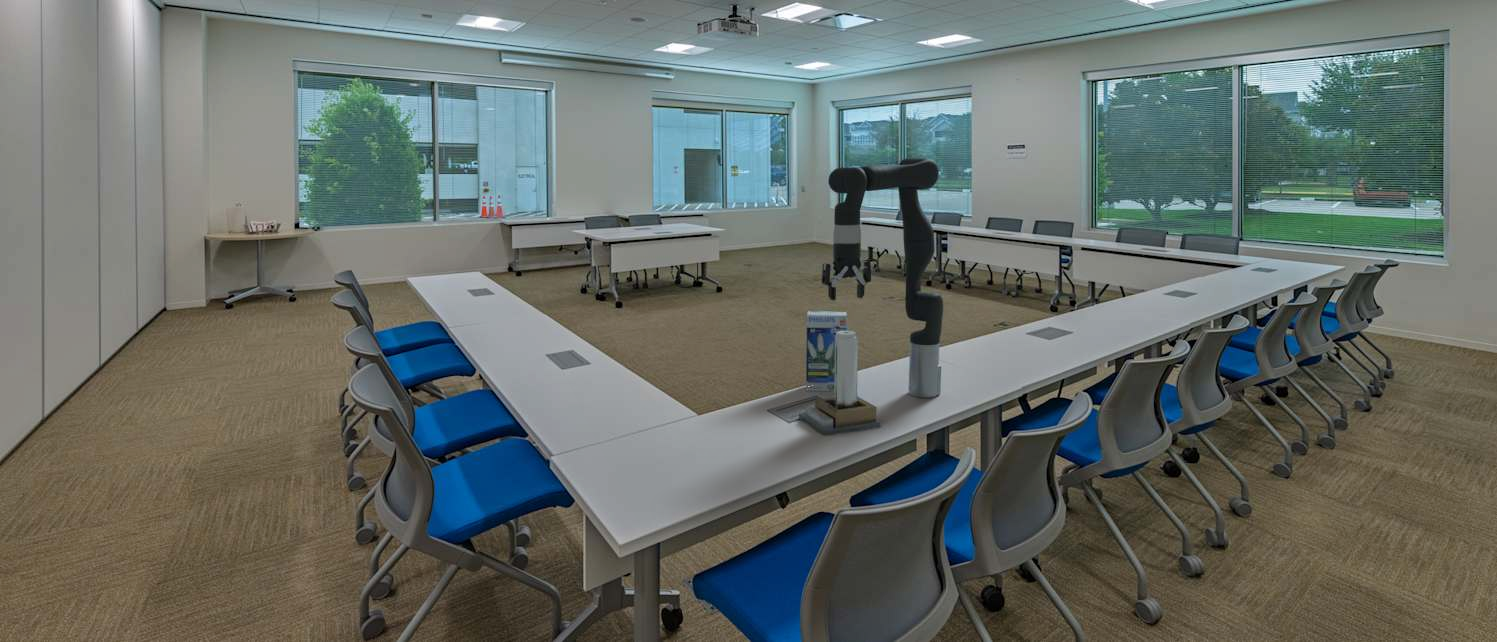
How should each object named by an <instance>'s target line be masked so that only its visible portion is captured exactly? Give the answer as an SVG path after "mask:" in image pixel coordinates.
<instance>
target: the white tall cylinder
mask: <svg viewBox="0 0 1497 642" xmlns="http://www.w3.org/2000/svg"><path fill="white" fill-rule="evenodd" d="M858 342H859V335H857V332H855V331H852V330H847V331H838V332H836V335H835V380H834V392H833V393H834V396H833V397H834V407H835V408H837V409H838V410H841V409H848V408H855V407H857V396H858V354H859V353H858V352H859V348H858V347H859V343H858Z"/></svg>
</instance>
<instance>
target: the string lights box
mask: <svg viewBox="0 0 1497 642" xmlns="http://www.w3.org/2000/svg"><path fill="white" fill-rule="evenodd" d="M806 312H807V313H806V349H805V350H806V352H805V353H806V361H805V362H806V363H805V364H806V365H805V366H806V369H805V371H806V374H805V375H806V376H805V377H806V378H805V381H806V384H805V385H806V387H807V388H805V389H808V390H806V392H829V391H830V392H832V393H834V380H835V335H836V332H838V331H848V314H847V312H846V311H827V310H826V311H824V310H823V311H809V310H808V311H806ZM812 385H813V386H812ZM808 386H810V387H808ZM830 392H829V393H830Z"/></svg>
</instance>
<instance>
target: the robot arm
mask: <svg viewBox="0 0 1497 642" xmlns="http://www.w3.org/2000/svg"><path fill="white" fill-rule="evenodd" d="M939 174H940V173H939V167H938V164H937V163H936V161H934V160H933V159H930V158H927V157H926V158H925V157H914V158H913V157H909V158H903V159H901V161H899V163H898V164H877V165H876V164H874V165H873V164H872V165H866V166H860V167H858V166H857V167H856V166H849V167H847V166H846V167H838V168H835V169H833V171H831V173H830V174H829V176H828V179H827V181H828V186H829V188H830V189H831V190H832V191H833V192H835V193H837V194H843V195H844V194H846V195H845V198H844V200H843V202H839V203H836V205H835V207H834V222H833V224H834V225H833V226H834V227H833V235H832V236H833V237H832V238H833V240H832V241H833V242H832V247H833V249H832V250H833V251H832V252H833V253H832V254H833V255H832V257H833V262H832V263H827V262H824V263H823V264H822V271H821V273H822V274H821V284H822V285H825V286H827V287H828V291H827V292H828V298H829V299H830V301H836V300H837V288H836V285H837V284H838V283H839V282H840V281H841V279H847V278H853V279H854V280H855V282H857V284H856V297H857V298H858V299H863V298H864V296H865V290H866V289H865V285H866V284H867V283H868V284H869V283H871V281H872V270H871V269H872V268H871V261H870V260H865V259H863V260H862V261H861V253H862V252H861V251H862V250H861V247H862V246H861V245H862V243H861V242H862V232H861V208H862V206H863V201H864V197H865V194H866V192H875V191H882V190H883V191H884V190H888V189H889V190H890V189H896V188H897V190H898V196H899V201H900V208H901V217H902V226H903V227H902V229H903V231H902V234H903V235H902V236H903V238H902V239H903V251H904V260H905V261H904V263H905V294H904V295H905V300H904V301H905V303H904V305H905V313H906V316H907V317H908V319H910V320H913V321H917V322H925V324H924V328H923V329H920V330H919V329H918V330H914V331H912V332H911V333H910V336H909V363H908V365H909V366H908V367H909V369H908V394H909V395H910V396H912V397H917V398H924V399H926V398H934V397H937V396H939V395H941V390H942V389H941V385H942V365H940V342H941V340H940V339H941V334H942V327H943V318H944V317H943V316H944V315H943V314H944V300H943V297H942V296H941V295H940V293H935V292H926V291H922V289H921V287H922V283H921V282H922V277H923V275H924V273H925V271H926V269H927V267H928V266H929V264H930V262H931V261H932V259H933V258H934V254H935V231H934V228H933V226H932V224H931V222H930V220H929V218H928V217H927V215H926V214H925V212H924V210H923V208H922V206H921V205H920V199H919V194H918V193H919V192H918V190H921V191H922V190H928V189H931V188H933V187H934V186H935V184H936V183H937V182H938V179H939ZM860 268H861V269H862V274H861V272H860ZM832 269H833V270H832ZM831 271H833V273H832V274H831Z"/></svg>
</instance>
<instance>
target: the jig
mask: <svg viewBox="0 0 1497 642" xmlns="http://www.w3.org/2000/svg"><path fill="white" fill-rule="evenodd" d="M877 410H878V409H877V406H876V405H874V404H872V403H870V402H868V401H867V400H865V399H863V398H862V397H859V396H858V395H857V407H855V408H848V409H841V410H838V409H837V408H835V407H834V396H833V397H826V398H819V399H818V398H817V399H815V400H814V406H812V407H805V408H804V412H799V414H798V419H800V420H801V421H802V422H804V423H805V424H807V425H808V426H809V427H811V428H812V429H813V430H815V431H816V432H818V433H819V434H821V435H822V436H828V435H835V434H836V435H837V434H843V433H849V431H850V432H855V430H856V431H861V430H862V429H863V430H868V429H867V428H870V429H874V428H873V427H876V428H881V427H882V425H881V421H880V420H878V419H877ZM880 426H881V427H880ZM863 430H862V431H863Z"/></svg>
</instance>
